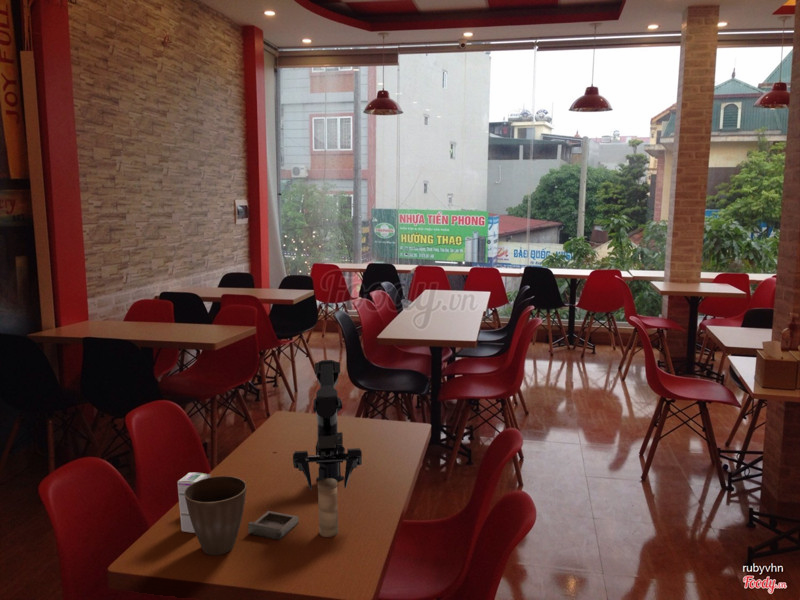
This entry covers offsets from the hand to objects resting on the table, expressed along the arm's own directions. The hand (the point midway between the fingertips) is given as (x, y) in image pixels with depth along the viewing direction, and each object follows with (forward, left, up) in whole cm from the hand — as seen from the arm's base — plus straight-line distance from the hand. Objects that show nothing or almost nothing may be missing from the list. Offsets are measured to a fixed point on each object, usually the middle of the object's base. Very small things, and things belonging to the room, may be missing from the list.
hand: (327, 488), depth 168 cm
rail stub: (+2, +2, -11) cm, 11 cm away
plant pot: (+25, -14, -11) cm, 31 cm away
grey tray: (+10, -11, -11) cm, 18 cm away
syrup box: (+23, -28, -11) cm, 38 cm away
